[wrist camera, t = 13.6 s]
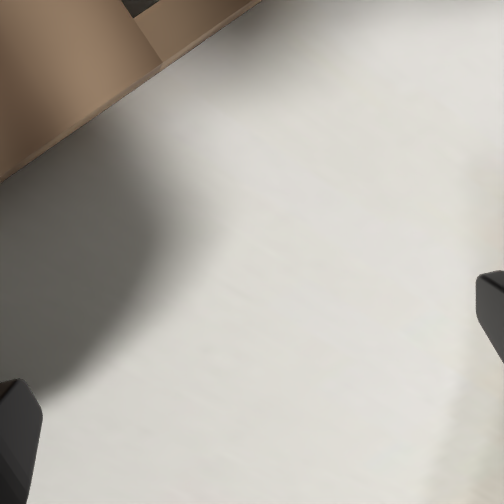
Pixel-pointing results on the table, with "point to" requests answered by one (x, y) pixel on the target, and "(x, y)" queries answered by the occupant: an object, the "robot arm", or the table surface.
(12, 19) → the notched board
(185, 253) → the table surface
